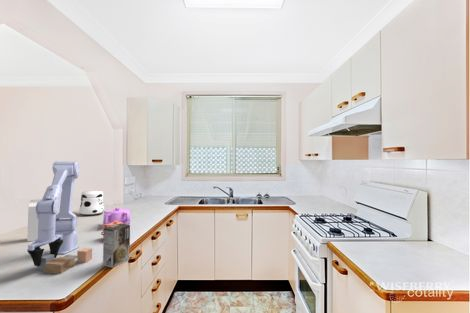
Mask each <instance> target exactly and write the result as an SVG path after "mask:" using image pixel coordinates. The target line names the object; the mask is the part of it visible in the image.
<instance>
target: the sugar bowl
mask: <svg viewBox="0 0 470 313" xmlns="http://www.w3.org/2000/svg"><path fill="white" fill-rule="evenodd" d="M120 223H122V222H118V221H113V223H110V224H104V225H103V224H102V226H101V227H102V228H101V229H102V231H101V233H100V235H101V236H103V238H104V228H105V227H104V226H105V225H107V227H110V226H113V225H116V224H120ZM122 224H123V223H122Z"/></svg>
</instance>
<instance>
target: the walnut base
mask: <svg viewBox="0 0 470 313" xmlns="http://www.w3.org/2000/svg"><path fill="white" fill-rule="evenodd" d="M75 259H76V258H73V257H64V256H57V257H56V258H54V259H53V260H51V261H49V262H47V263H45V270H44V273H47V274H48V273H49V274H50V273H51V274H63V273H65V272H66V271H68V270H70V269H72V268H73V267H75Z"/></svg>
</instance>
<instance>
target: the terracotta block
mask: <svg viewBox="0 0 470 313" xmlns="http://www.w3.org/2000/svg"><path fill="white" fill-rule="evenodd" d="M76 256H77V258H76V260H77V261H76V263H80V264H81V263H82V264H86V263H88V262H89V261H91V260H93V248H91V247H83V248H81V249H79V250H77V253H76Z"/></svg>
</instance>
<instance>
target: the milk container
mask: <svg viewBox="0 0 470 313" xmlns="http://www.w3.org/2000/svg"><path fill="white" fill-rule="evenodd" d="M80 196H81V197H80V205H79V214H80V215H82V216H97V215H100V214H103V213H104V210H105V205H104V191H102V190H101V191H100V190H88V191H83V192H81V194H80Z"/></svg>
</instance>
